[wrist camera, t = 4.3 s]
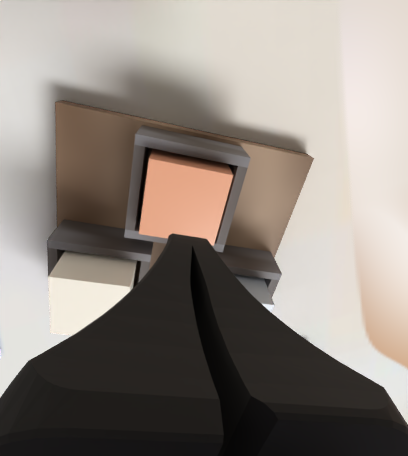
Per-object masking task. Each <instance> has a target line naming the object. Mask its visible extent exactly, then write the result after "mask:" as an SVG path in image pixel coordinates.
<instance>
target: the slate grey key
mask: <svg viewBox="0 0 408 456" xmlns="http://www.w3.org/2000/svg"><path fill="white" fill-rule="evenodd" d="M234 276H235V277H236V278H237V279H238V280H239V281H240V282H241V284H242V285H243V286H244V287H245V288H246V289H247V290H248V291H249V292H250V293H251V294H252V295H253V296H254V297H255V298H256V299H257V300H258V301H259V302H260V303H261V304H262V305H263V306H264V307H265V308H267V309H268V310H269V311H270V312H272V310H273V307H274V303H273V300H272V298H271V295H270V293H269V290H268V288H267V285H266V283H265V280H264V278H259V277H251V276H244V275H237V274H234Z"/></svg>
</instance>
